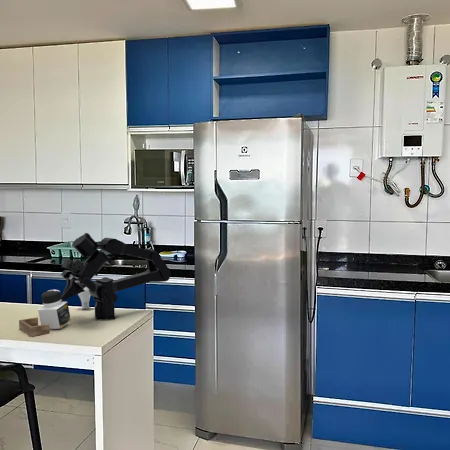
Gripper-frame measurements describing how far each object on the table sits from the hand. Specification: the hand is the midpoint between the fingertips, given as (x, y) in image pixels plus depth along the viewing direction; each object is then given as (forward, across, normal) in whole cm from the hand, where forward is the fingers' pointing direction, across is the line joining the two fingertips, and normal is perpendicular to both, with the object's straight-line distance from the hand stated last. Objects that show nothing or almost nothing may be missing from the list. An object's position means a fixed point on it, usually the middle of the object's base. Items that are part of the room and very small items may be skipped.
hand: (61, 299), depth 163 cm
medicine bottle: (+7, 0, +5) cm, 9 cm away
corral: (+13, 0, 0) cm, 13 cm away
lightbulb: (-5, -17, +18) cm, 25 cm away
